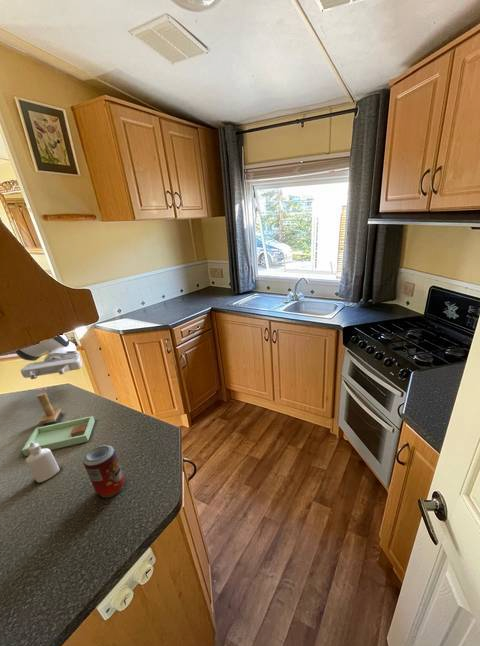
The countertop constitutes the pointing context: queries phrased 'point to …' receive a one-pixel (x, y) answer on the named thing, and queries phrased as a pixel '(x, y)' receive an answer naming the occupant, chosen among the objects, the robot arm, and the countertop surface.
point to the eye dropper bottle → (41, 462)
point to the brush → (49, 411)
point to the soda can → (104, 470)
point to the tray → (59, 434)
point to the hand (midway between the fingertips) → (46, 374)
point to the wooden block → (78, 430)
